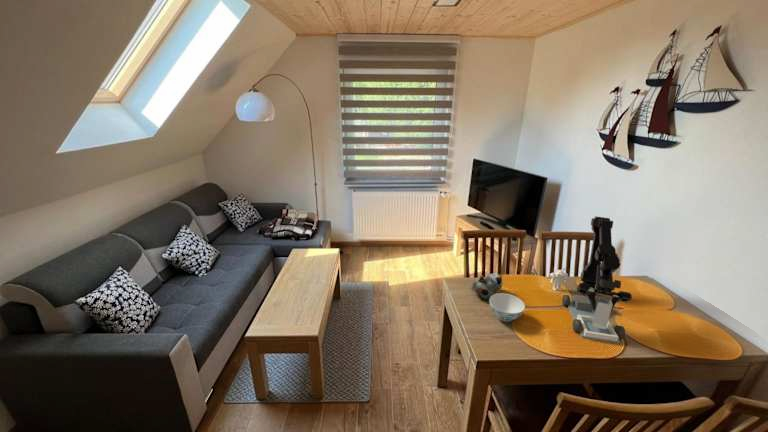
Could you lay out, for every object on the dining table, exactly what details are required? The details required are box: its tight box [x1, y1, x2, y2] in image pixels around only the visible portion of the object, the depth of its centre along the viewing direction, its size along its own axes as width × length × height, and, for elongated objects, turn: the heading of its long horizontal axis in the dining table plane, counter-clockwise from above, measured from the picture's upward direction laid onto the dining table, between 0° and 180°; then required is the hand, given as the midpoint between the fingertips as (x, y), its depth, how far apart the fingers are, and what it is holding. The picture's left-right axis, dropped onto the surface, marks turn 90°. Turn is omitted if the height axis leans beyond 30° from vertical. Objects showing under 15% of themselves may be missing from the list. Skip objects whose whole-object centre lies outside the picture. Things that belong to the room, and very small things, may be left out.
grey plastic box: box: [590, 293, 613, 329], centre depth 138 cm, size 6×5×12 cm
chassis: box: [561, 294, 626, 344], centre depth 147 cm, size 27×18×5 cm, turn 165°
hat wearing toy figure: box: [549, 267, 569, 291], centre depth 169 cm, size 9×4×12 cm, turn 88°
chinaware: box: [489, 292, 526, 323], centre depth 148 cm, size 15×15×8 cm
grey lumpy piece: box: [471, 272, 504, 301], centre depth 165 cm, size 15×12×14 cm
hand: (601, 312), depth 136 cm, fingers closed on grey plastic box, 5 cm apart
